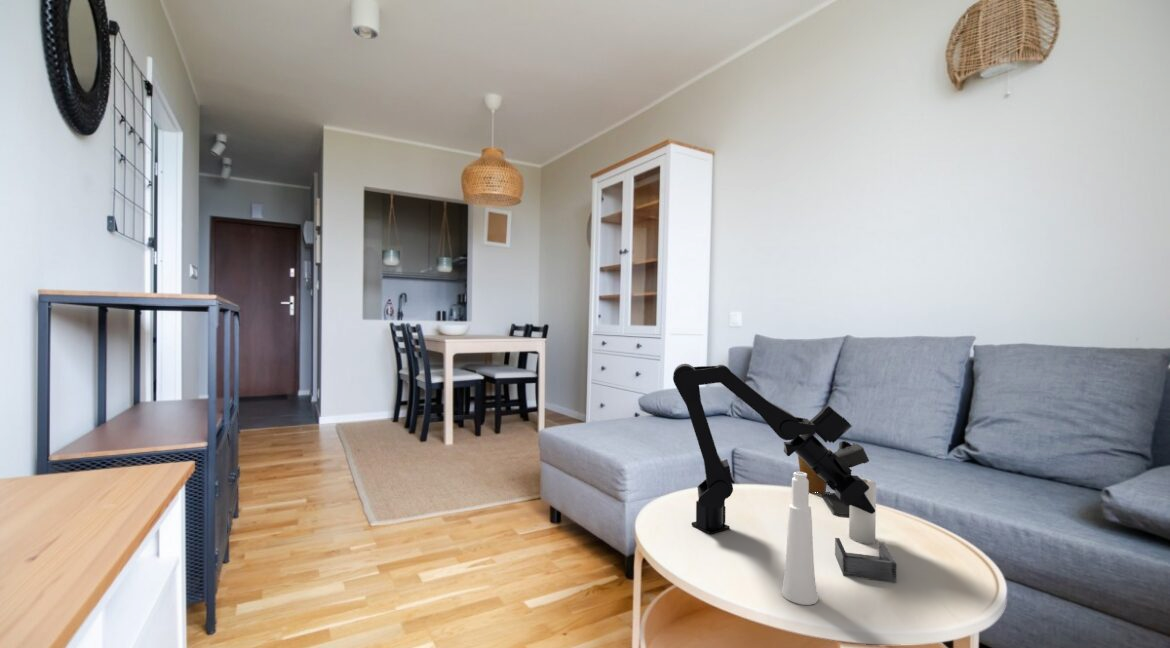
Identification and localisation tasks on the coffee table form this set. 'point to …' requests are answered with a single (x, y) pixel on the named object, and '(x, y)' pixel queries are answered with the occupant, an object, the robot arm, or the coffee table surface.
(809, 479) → the disposable coffee cup
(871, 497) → the paper roll
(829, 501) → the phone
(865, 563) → the tray
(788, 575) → the cosmetic bottle
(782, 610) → the coffee table surface
